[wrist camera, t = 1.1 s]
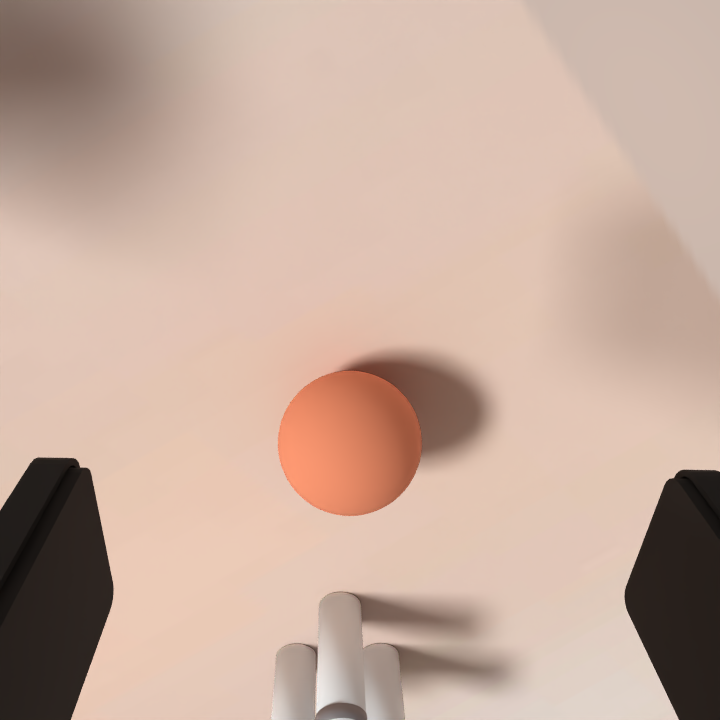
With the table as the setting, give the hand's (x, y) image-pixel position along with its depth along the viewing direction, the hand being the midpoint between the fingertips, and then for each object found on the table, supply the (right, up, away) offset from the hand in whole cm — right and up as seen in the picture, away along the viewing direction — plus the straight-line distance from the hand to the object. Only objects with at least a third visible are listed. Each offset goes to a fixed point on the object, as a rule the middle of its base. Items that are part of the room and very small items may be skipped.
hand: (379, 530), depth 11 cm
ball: (-1, -1, +16) cm, 16 cm away
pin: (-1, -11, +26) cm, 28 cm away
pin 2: (+1, -15, +28) cm, 32 cm away
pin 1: (-4, -15, +28) cm, 32 cm away
